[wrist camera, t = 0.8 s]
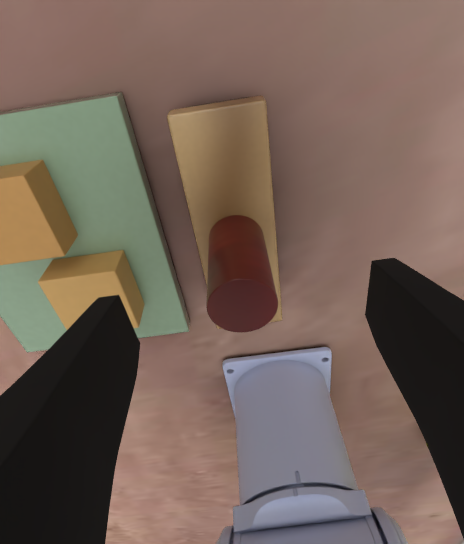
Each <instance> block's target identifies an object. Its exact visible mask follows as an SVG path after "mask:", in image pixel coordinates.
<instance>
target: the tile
mask: <svg viewBox="0 0 464 544" xmlns="http://www.w3.org/2000/svg"><path fill="white" fill-rule="evenodd" d="M36 160H43V161H44V163H45V165H46V167H47V169H48V172H49V174H50V176H51V178H52V180H53V182H54V184H55V187H56V189H57V191H58V193H59V195H60V197H61V199H62V202H63V204H64V206H65V208H66V210H67V212H68V214H69V216H70V219H71V221H72V223H73V225H74V227H75V229H76V231H77V234H78V236H77V238H76V239H75V241H74V243H73V244H72V246H71V247H70V249H69V250H68V252H67V254H66V255H65V256H62V257H55V258H48V259H41V260H34V261H27V262H20V263H13V264H6V265H0V317H1V318H2V319H3V321H4V322H5V323H6V325H7V326H8V327H9V329H10V330H11V331H12V333H13V334H14V335H15V337H16V338H17V340H18V341H19V342H20V344H21V345H22V346H23V348H24V349H25V350H26V352H34V351H42V350H49V349H50V348H51V346H52V345H53V344H54V343H55V342H56V341H57V340H58V339H59V338H60V337H61V336H62V335H63V334H64V333H65V332H66V331H67V330H66V328H65V327H64V325H63V323H62V322H61V320H60V318H59V317H58V315H57V313H56V312H55V310H54V308H53V307H52V305H51V303H50V302H49V300H48V298H47V297H46V295H45V294H44V292H43V290H42V289H41V287H40V285H39V284H38V281H39V279H40V278H41V276H42V275H43V273H44V272H45V270H46V269H47V267H48V266H49V264H50V263H51V261H52V260H55V259H62V258H69V257H76V256H83V255H90V254H98V253H105V252H112V251H119V250H124V253H125V255H126V258H127V260H128V263H129V265H130V268H131V271H132V273H133V276H134V278H135V281H136V283H137V286H138V289H139V291H140V294H141V296H142V299H143V301H144V304H145V305H144V309H143V313H142V317H141V321H140V325H139V327H138V328H134V330H135V333H136V335H137V337H138V338H143V337H151V336H159V335H166V334H174V333H182V332H189V325H190V320H189V317H188V313H187V310H186V307H185V303H184V300H183V297H182V293H181V290H180V287H179V283H178V280H177V276H176V273H175V270H174V266H173V263H172V260H171V256H170V253H169V249H168V246H167V243H166V239H165V236H164V233H163V229H162V226H161V223H160V219H159V216H158V212H157V209H156V206H155V202H154V199H153V196H152V192H151V189H150V185H149V182H148V179H147V175H146V172H145V169H144V165H143V162H142V159H141V155H140V152H139V148H138V145H137V142H136V138H135V135H134V132H133V128H132V125H131V122H130V118H129V115H128V111H127V108H126V105H125V101H124V98H123V95H122V93H121V92H118V93H112V94H106V95H100V96H94V97H88V98H82V99H76V100H70V101H64V102H58V103H52V104H46V105H40V106H34V107H28V108H22V109H16V110H10V111H4V112H0V166H5V165H11V164H17V163H24V162H30V161H36Z"/></svg>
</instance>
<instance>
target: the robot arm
mask: <svg viewBox="0 0 464 544" xmlns="http://www.w3.org/2000/svg"><path fill="white" fill-rule="evenodd" d="M365 315H366V318H367V321H368V324H369V327H370V329H371V332H372V335H373V337H374V340H375V343H376V345H377V347H378V349H379V351H380V353H381V355H382V357H383V359H384V361H385V363H386V365H387V367H388V369H389V370H390V372H391V374H392V376H393V378H394V380H395V382H396V384H397V385H398V387H399V389H400V391H401V393H402V395H403V397H404V399H405V400H406V402H407V404H408V406H409V408H410V410H411V412H412V414H413V415H414V417H415V419H416V421H417V424H418V426H419V428H420V430H421V432H422V434H423V436H424V439H425V441H426V443H427V446H428V448H429V451H430V453H431V456H432V458H433V460H434V463H435V465H436V468H437V470H438V472H439V475H440V478H441V480H442V483H443V485H444V488H445V490H446V493H447V496H448V498H449V501H450V503H451V506H452V508H453V511H454V514H455V516H456V519H457V522H458V525H459V527H460V530H461V533H462V536H463V538H464V300H462V299H460V298H459V297H457V296H455V295H454V294H452V293H450V292H449V291H447V290H445V289H444V288H442V287H441V286H439V285H437V284H436V283H434V282H433V281H431V280H429V279H428V278H426V277H425V276H423V275H422V274H420V273H418V272H417V271H415V270H414V269H412V268H410V267H409V266H407V265H406V264H404V263H402V262H401V261H399V260H397V259H395V258H389V259H382V260H374V261H372V264H371V272H370V280H369V288H368V296H367V304H366V313H365ZM139 349H140V342H139V340H138V337H137V335H136V333H135V330H134V328H133V326H132V323H131V321H130V319H129V316H128V314H127V312H126V310H125V307H124V305H123V303H122V300H121V298H120V296H119V295H113V296H106V297H99V298H98V299H96V300H95V301H94V302H93V303H92V304H91V305H90V306H89V307H88V308H87V309H86V311H85V312H84V313H83V314H82V315H81V316H80V317H79V318H78V319H77V320H76V321H75V322H74V323H73V324H72V325H71V327H70V328H69V329H68V330H67V331H66V332H65V333H64V334H63V335H62V336H61V337H60V338H59V339H58V340H57V341H56V342H55V343H54V344H53V345H52V346H51V348H50V349H49V350H48V351H47V352H46V353H45V354H44V355H43V356H42V357H41V358H40V359H39V360H38V361H37V362H35V363H34V364H33V365H32V366H31V367H30V368H29V369H28V370H27V371H26V372H25V373H24V374H23V375H22V376H21V377H20V378H19V379H18V380H17V381H16V382H15V383H14V384H13V385H12V386H11V387H10V388H8V389H7V390H6V391H5V392H4V393H3V394H2V395H1V396H0V544H105V539H106V530H107V522H108V514H109V506H110V499H111V492H112V485H113V478H114V471H115V465H116V460H117V455H118V450H119V446H120V442H121V438H122V434H123V430H124V426H125V422H126V418H127V414H128V410H129V406H130V402H131V397H132V393H133V389H134V385H135V380H136V376H137V369H138V360H139ZM331 362H332V353H331V350H330V348H328V347H320V348H312V349H304V350H296V351H287V352H279V353H271V354H263V355H255V356H247V357H239V358H231V359H226V360H224V361H223V371H224V375H225V379H226V383H227V387H228V391H229V396H230V400H231V404H232V408H233V412H234V416H235V420H236V438H237V458H238V478H239V498H240V506H234V507H233V523H234V525H233V526H227V527H225V528H224V529H223V531H222V533H221V535H220V537H219V539H218V540H217V542H216V544H408V542H407V540H406V538H405V536H404V534H403V532H402V530H401V528H400V526H399V525H398V523H397V522H396V521H395V520H394V519H393V518H392V517H391V516H389V515H388V514H387V513H386V512H385V511H384V510H383V509H382V508H380V507H374V508H370V506H369V503H368V500H367V497H366V494H365V491H364V490H358V487H357V483H356V480H355V477H354V473H353V470H352V467H351V464H350V460H349V457H348V454H347V450H346V447H345V444H344V441H343V437H342V434H341V431H340V427H339V424H338V421H337V418H336V414H335V411H334V408H333V404H332V401H331V398H330V383H331Z"/></svg>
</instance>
